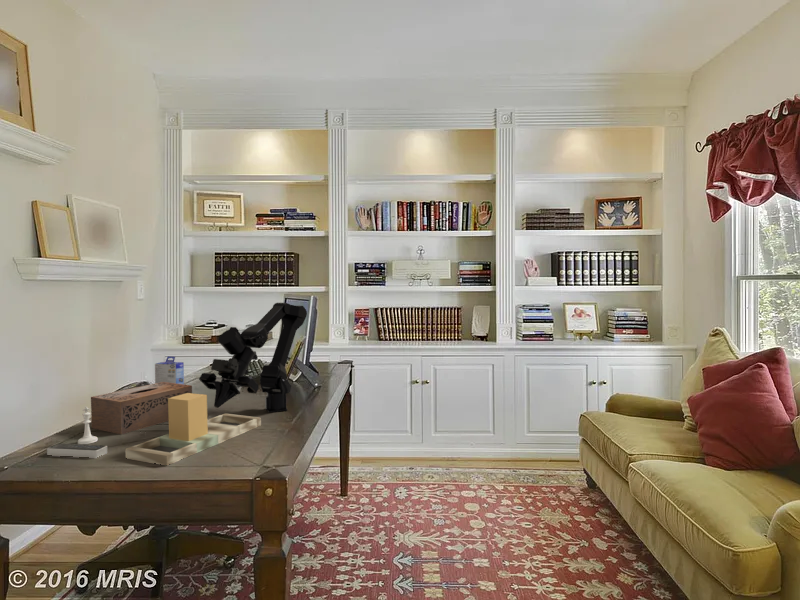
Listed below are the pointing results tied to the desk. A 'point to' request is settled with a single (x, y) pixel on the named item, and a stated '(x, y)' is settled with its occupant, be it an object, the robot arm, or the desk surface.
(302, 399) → the desk surface
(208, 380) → the robot arm
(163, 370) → the ink cartridge box
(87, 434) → the chess piece
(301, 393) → the desk surface
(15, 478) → the desk surface
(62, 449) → the multiport hub
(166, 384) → the tissue box cover
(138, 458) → the trap board
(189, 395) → the ochre block
